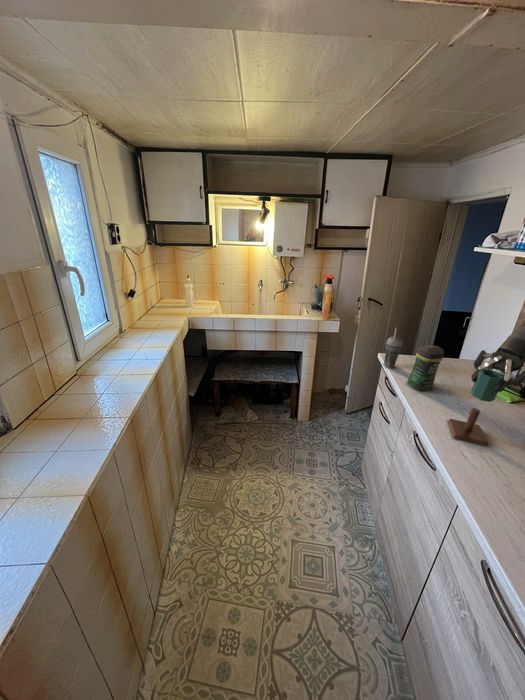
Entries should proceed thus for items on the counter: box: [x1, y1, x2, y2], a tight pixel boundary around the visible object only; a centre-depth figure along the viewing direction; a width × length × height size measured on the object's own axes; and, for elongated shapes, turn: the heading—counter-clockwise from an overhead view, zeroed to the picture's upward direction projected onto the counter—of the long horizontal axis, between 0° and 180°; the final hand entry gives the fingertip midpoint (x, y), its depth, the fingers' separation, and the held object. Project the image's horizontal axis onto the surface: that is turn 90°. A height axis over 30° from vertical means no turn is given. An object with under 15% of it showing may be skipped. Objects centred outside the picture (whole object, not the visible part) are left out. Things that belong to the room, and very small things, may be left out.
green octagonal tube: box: [470, 369, 504, 403], centre depth 87 cm, size 6×6×8 cm
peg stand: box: [448, 407, 489, 447], centre depth 92 cm, size 9×9×10 cm
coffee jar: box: [407, 345, 445, 391], centre depth 117 cm, size 10×8×19 cm
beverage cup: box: [383, 327, 404, 369], centre depth 133 cm, size 7×7×20 cm
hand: (483, 385), depth 86 cm, fingers closed on green octagonal tube, 5 cm apart
